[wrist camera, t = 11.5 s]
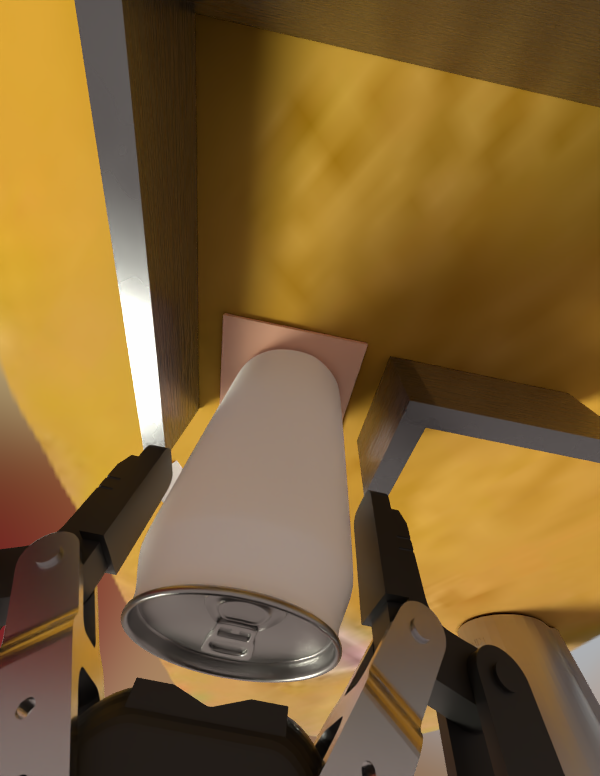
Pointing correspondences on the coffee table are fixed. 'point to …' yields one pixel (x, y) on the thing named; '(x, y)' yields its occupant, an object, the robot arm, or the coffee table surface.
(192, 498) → the can
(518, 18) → the guide rails
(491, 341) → the coffee table surface
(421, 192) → the coffee table surface
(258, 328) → the pad
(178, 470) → the white strips
